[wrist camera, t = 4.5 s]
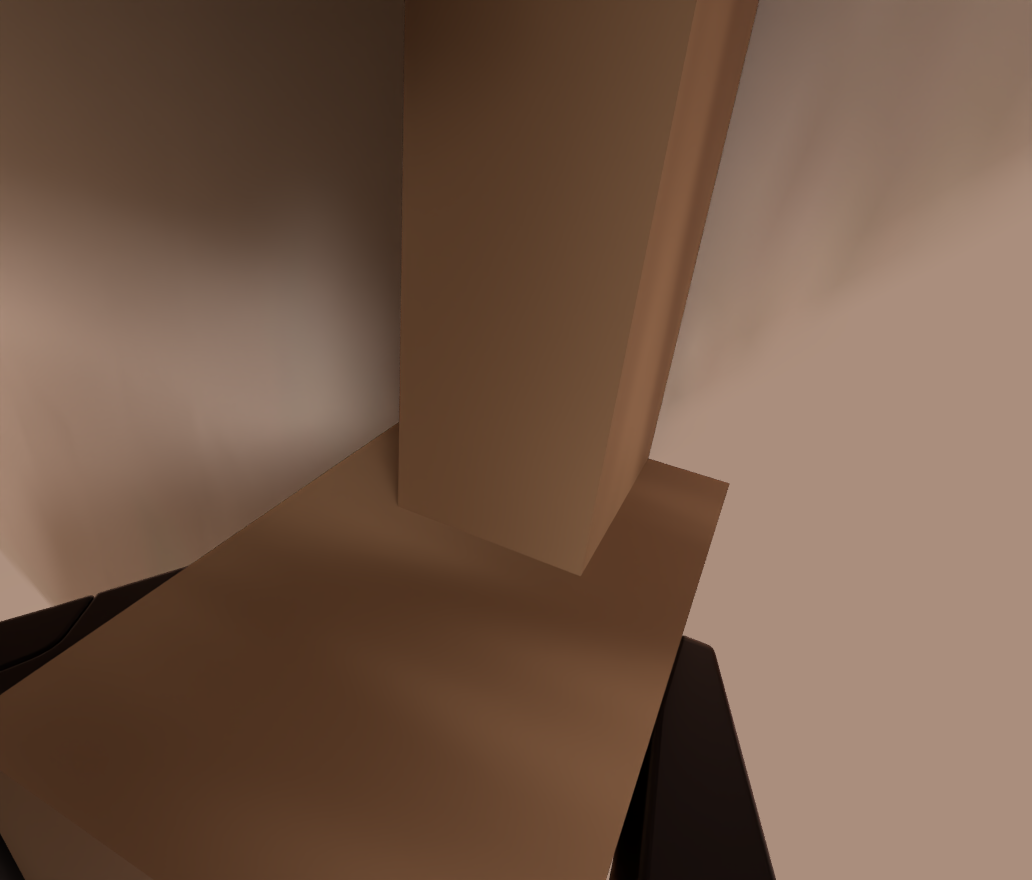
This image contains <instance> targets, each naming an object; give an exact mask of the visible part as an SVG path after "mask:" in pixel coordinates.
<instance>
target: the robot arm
mask: <svg viewBox="0 0 1032 880" xmlns="http://www.w3.org/2000/svg"><path fill="white" fill-rule="evenodd" d="M187 567H188V566H187ZM187 567H184V568H180V569H177V570H174V571H170V572H167V573H164V574H160V575H157V576H154V577H150V578H147V579H144V580H140V581H137V582H134V583H130V584H127V585H124V586H120V587H117V588H114V589H110V590H107V591H104V592H100V593H98V594H97V595H96V596H95V597H94V596H87V597H83V598H80V599H77V600H74V601H70V602H67V603H64V604H60V605H57V606H54V607H50V608H46V609H43V610H39V611H36V612H32V613H29V614H26V615H22V616H19V617H15V618H11V619H8V620H4V621H1V622H0V695H1V694H3V693H4V692H5V691H7V690H8V689H10V688H11V687H13V686H14V685H16V684H17V683H19V682H20V681H22V680H23V679H24V678H26V677H27V676H29V675H30V674H32V673H33V672H35V671H36V670H38V669H39V668H41V667H42V666H43V665H45V664H46V663H48V662H49V661H51V660H52V659H54V658H55V657H57V656H58V655H59V654H61V653H62V652H64V651H65V650H67V649H68V648H70V647H71V646H73V645H74V644H76V643H77V642H78V641H80V640H81V639H83V638H84V637H86V636H87V635H89V634H90V633H92V632H93V631H95V630H96V629H97V628H99V627H100V626H102V625H103V624H105V623H106V622H108V621H109V620H111V619H112V618H114V617H115V616H116V615H118V614H119V613H121V612H122V611H124V610H125V609H127V608H128V607H130V606H131V605H133V604H134V603H135V602H137V601H138V600H140V599H141V598H143V597H144V596H146V595H147V594H149V593H150V592H152V591H153V590H154V589H156V588H157V587H159V586H160V585H162V584H163V583H165V582H166V581H168V580H169V579H171V578H172V577H173V576H175V575H176V574H178V573H179V572H181V571H182V570H184V569H185V568H187ZM0 880H25V879H24V877H23V875H22V873H21V871H20V869H19V868H18V866H17V864H16V862H15V860H14V858H13V856H12V854H11V853H10V851H9V849H8V847H7V845H6V843H5V841H4V840H3V838H2V836H1V834H0ZM609 880H776V878H775V874H774V870H773V867H772V863H771V860H770V856H769V852H768V848H767V844H766V841H765V837H764V833H763V830H762V826H761V822H760V819H759V815H758V811H757V807H756V803H755V800H754V796H753V792H752V789H751V785H750V781H749V778H748V774H747V770H746V766H745V762H744V759H743V755H742V751H741V748H740V744H739V740H738V736H737V733H736V729H735V725H734V722H733V718H732V714H731V710H730V707H729V704H728V699H727V696H726V692H725V688H724V684H723V681H722V677H721V674H720V669H719V666H718V662H717V658H716V655H715V652H714V650H713V648H712V647H711V646H709V645H707V644H705V643H702V642H700V641H697V640H694V639H692V638H689V637H687V636H682V637H681V641H680V644H679V647H678V650H677V653H676V657H675V660H674V663H673V666H672V670H671V673H670V676H669V679H668V682H667V686H666V689H665V692H664V695H663V698H662V702H661V705H660V708H659V711H658V714H657V718H656V721H655V724H654V727H653V730H652V734H651V737H650V740H649V743H648V747H647V750H646V753H645V756H644V759H643V763H642V766H641V769H640V772H639V775H638V779H637V782H636V785H635V788H634V791H633V795H632V798H631V801H630V804H629V807H628V811H627V814H626V817H625V820H624V823H623V827H622V830H621V833H620V836H619V840H618V843H617V846H616V849H615V852H614V857H613V863H612V868H611V873H610V878H609Z"/></svg>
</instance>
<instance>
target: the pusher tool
mask: <svg viewBox="0 0 1032 880" xmlns="http://www.w3.org/2000/svg"><path fill="white" fill-rule="evenodd" d="M758 3H759V0H405V24H404V99H403V174H402V249H401V324H400V399H399V422H398V423H397V424H395V425H394V426H393V427H391V428H390V429H388V430H387V431H385V432H384V433H382V434H381V435H379V436H378V437H376V438H375V439H374V440H372V441H371V442H369V443H368V444H366V445H365V446H363V447H362V448H360V449H359V450H358V451H356V452H355V453H353V454H352V455H350V456H349V457H347V458H346V459H344V460H343V461H341V462H340V463H339V464H337V465H336V466H334V467H333V468H331V469H330V470H328V471H327V472H325V473H324V474H322V475H321V476H320V477H318V478H317V479H315V480H314V481H312V482H311V483H309V484H308V485H306V486H305V487H303V488H302V489H301V490H299V491H298V492H296V493H295V494H293V495H292V496H290V497H289V498H287V499H286V500H284V501H283V502H282V503H280V504H279V505H277V506H276V507H274V508H273V509H271V510H270V511H268V512H267V513H265V514H264V515H263V516H261V517H260V518H258V519H257V520H255V521H254V522H252V523H251V524H249V525H248V526H246V527H245V528H244V529H242V530H241V531H239V532H238V533H236V534H235V535H233V536H232V537H230V538H229V539H227V540H226V541H225V542H223V543H222V544H220V545H219V546H217V547H216V548H214V549H213V550H211V551H210V552H209V553H207V554H206V555H204V556H203V557H201V558H200V559H198V560H197V561H195V562H194V563H192V564H191V565H190V566H188V567H187V568H185V569H184V570H182V571H181V572H179V573H178V574H176V575H175V576H173V577H172V578H171V579H169V580H168V581H166V582H165V583H163V584H162V585H160V586H159V587H157V588H156V589H154V590H153V591H152V592H150V593H149V594H147V595H146V596H144V597H143V598H141V599H140V600H138V601H137V602H135V603H134V604H133V605H131V606H130V607H128V608H127V609H125V610H124V611H122V612H121V613H119V614H118V615H116V616H115V617H114V618H112V619H111V620H109V621H108V622H106V623H105V624H103V625H102V626H100V627H99V628H97V629H96V630H95V631H93V632H92V633H90V634H89V635H87V636H86V637H84V638H83V639H81V640H80V641H78V642H77V643H76V644H74V645H73V646H71V647H70V648H68V649H67V650H65V651H64V652H62V653H61V654H59V655H58V656H57V657H55V658H54V659H52V660H51V661H49V662H48V663H46V664H45V665H43V666H42V667H41V668H39V669H38V670H36V671H35V672H33V673H32V674H30V675H29V676H27V677H26V678H24V679H23V680H22V681H20V682H19V683H17V684H16V685H14V686H13V687H11V688H10V689H8V690H7V691H5V692H4V693H3V694H1V695H0V834H1V836H2V838H3V840H4V841H5V843H6V845H7V847H8V849H9V851H10V853H11V854H12V856H13V858H14V860H15V862H16V864H17V866H18V868H19V869H20V871H21V873H22V875H23V877H24V879H25V880H606V878H607V875H608V872H609V868H610V865H611V862H612V858H613V856H614V852H615V849H616V846H617V843H618V840H619V836H620V833H621V830H622V827H623V823H624V820H625V817H626V814H627V811H628V807H629V804H630V801H631V798H632V795H633V791H634V788H635V785H636V782H637V779H638V775H639V772H640V769H641V766H642V763H643V759H644V756H645V753H646V750H647V747H648V743H649V740H650V737H651V734H652V730H653V727H654V724H655V721H656V718H657V714H658V711H659V708H660V705H661V702H662V698H663V695H664V692H665V689H666V686H667V682H668V679H669V676H670V673H671V670H672V666H673V663H674V660H675V657H676V653H677V650H678V647H679V644H680V641H681V637H682V634H683V631H684V628H685V625H686V621H687V618H688V615H689V612H690V608H691V605H692V602H693V599H694V596H695V593H696V589H697V586H698V583H699V579H700V576H701V573H702V570H703V567H704V564H705V560H706V557H707V554H708V551H709V547H710V544H711V541H712V538H713V535H714V532H715V528H716V525H717V522H718V519H719V515H720V512H721V509H722V506H723V503H724V500H725V496H726V493H727V490H728V487H729V483H726V482H723V481H719V480H716V479H713V478H710V477H707V476H703V475H700V474H697V473H693V472H690V471H687V470H684V469H680V468H677V467H674V466H671V465H667V464H664V463H661V462H658V461H655V460H652V459H648V457H649V453H650V449H651V445H652V441H653V437H654V433H655V428H656V424H657V420H658V416H659V412H660V408H661V404H662V399H663V395H664V391H665V387H666V383H667V379H668V375H669V371H670V366H671V362H672V358H673V354H674V350H675V346H676V342H677V337H678V333H679V329H680V325H681V321H682V317H683V313H684V309H685V304H686V300H687V296H688V292H689V288H690V284H691V280H692V275H693V271H694V267H695V263H696V259H697V255H698V251H699V247H700V242H701V238H702V234H703V230H704V226H705V222H706V218H707V213H708V209H709V205H710V201H711V197H712V193H713V189H714V185H715V180H716V176H717V172H718V168H719V164H720V160H721V156H722V151H723V147H724V143H725V139H726V135H727V131H728V127H729V123H730V118H731V114H732V110H733V106H734V102H735V98H736V94H737V89H738V85H739V81H740V77H741V73H742V69H743V65H744V61H745V56H746V52H747V48H748V44H749V40H750V36H751V32H752V27H753V23H754V19H755V15H756V11H757V7H758Z"/></svg>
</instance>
